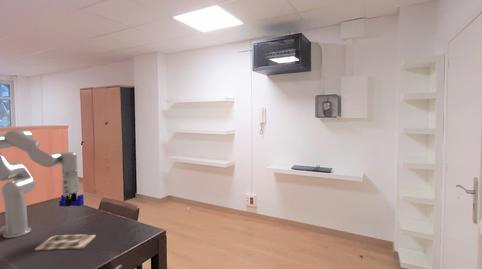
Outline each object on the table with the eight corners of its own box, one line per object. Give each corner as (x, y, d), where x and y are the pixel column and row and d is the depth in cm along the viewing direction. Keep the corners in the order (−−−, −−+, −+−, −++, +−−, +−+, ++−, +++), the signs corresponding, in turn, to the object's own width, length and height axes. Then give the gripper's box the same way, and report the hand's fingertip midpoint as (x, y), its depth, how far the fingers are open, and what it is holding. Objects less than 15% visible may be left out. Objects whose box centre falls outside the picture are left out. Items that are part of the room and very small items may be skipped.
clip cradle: (34, 250, 135) (34, 245, 135) (51, 237, 149) (51, 233, 149) (83, 248, 137) (83, 243, 137) (95, 236, 151) (95, 232, 151)
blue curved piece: (59, 206, 154) (58, 196, 154) (65, 203, 158) (64, 193, 158) (78, 206, 153) (77, 196, 152) (83, 204, 157) (83, 194, 157)
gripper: (68, 176, 146) (70, 208, 148) (83, 170, 163) (84, 199, 165) (54, 177, 146) (56, 209, 147) (70, 170, 163) (72, 199, 164)
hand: (71, 203), depth 156 cm, fingers closed on blue curved piece, 5 cm apart
